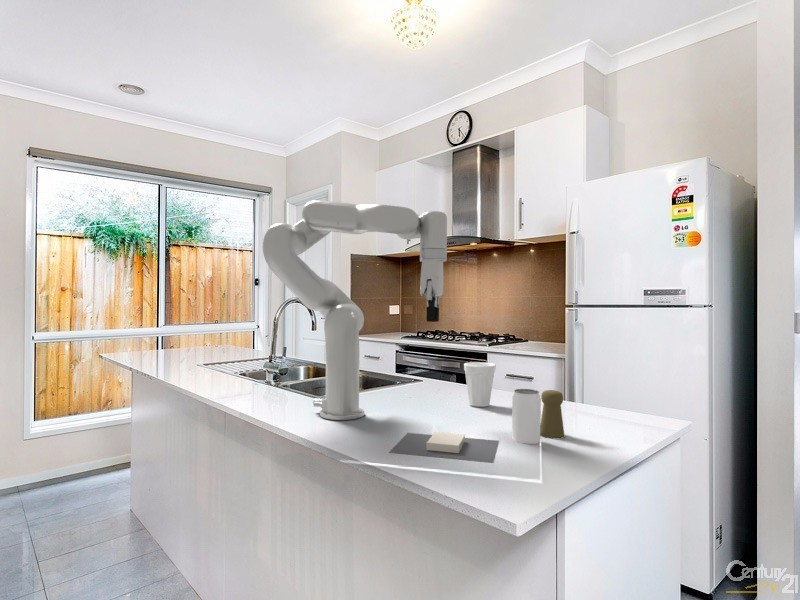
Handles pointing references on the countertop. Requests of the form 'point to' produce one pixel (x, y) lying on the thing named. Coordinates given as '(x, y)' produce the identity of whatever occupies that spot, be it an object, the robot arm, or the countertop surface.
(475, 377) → the cup
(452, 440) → the tile
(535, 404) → the can
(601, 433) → the countertop surface
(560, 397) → the cork
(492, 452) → the mat
